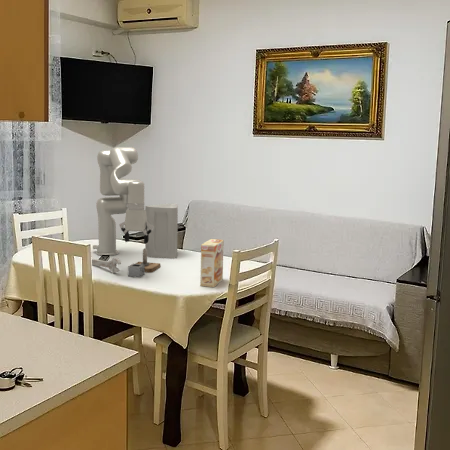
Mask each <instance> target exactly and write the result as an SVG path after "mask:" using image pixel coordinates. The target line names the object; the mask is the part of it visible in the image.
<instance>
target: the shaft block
mask: <svg viewBox="0 0 450 450" xmlns="http://www.w3.org/2000/svg"><path fill="white" fill-rule="evenodd" d="M134 264H144V265H145V273H149V274H151V273H154V272H155V271H157V270H158V269H160V268H161V263H159V262H148V257H147V249H146V248H145V247H144V248H143V249H142V261H137V262H135V263H134Z"/></svg>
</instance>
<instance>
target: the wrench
mask: <svg viewBox="0 0 450 450" xmlns="http://www.w3.org/2000/svg"><path fill="white" fill-rule="evenodd" d="M91 259H92V265H91V266H96V267H102V268H108V269H109V270H110V271H111V274H112V273H114V274H117V273H119V272H120V271H121V270H120V268H118V266H119V265H121V264H122V261H121V259H120V258H118V257H113V258H111V260H109V261H107V260H102V259H96V258H91ZM117 265H118V266H117Z"/></svg>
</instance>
